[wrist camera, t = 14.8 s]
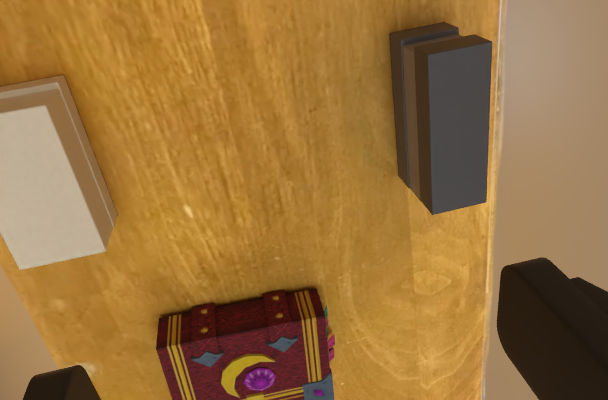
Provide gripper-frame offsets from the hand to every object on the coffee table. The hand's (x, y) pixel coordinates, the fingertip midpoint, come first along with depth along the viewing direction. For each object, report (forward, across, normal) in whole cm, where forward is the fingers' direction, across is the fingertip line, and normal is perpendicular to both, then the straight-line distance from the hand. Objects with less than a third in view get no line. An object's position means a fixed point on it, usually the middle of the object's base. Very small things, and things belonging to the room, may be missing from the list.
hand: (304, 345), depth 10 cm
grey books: (+30, -14, +8) cm, 34 cm away
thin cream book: (+26, +14, +6) cm, 31 cm away
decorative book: (+30, +4, +29) cm, 42 cm away
